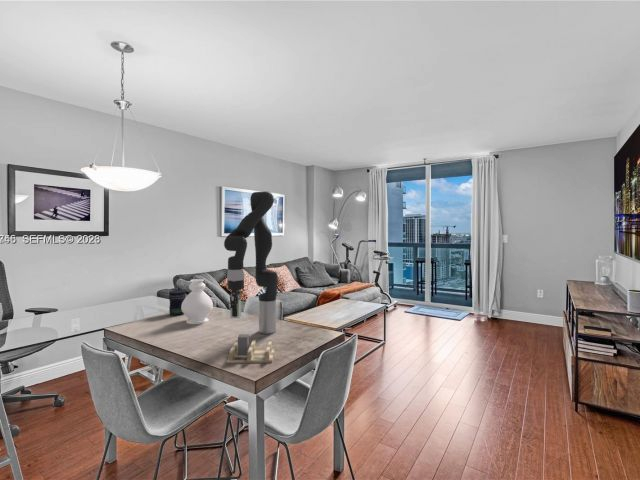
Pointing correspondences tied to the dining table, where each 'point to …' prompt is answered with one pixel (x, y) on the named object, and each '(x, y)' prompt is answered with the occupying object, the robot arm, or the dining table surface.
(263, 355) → the slot rack
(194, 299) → the decorative vase
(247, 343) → the charcoal plug
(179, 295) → the storage jar
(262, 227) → the robot arm
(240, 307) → the sage plug
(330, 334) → the dining table surface
